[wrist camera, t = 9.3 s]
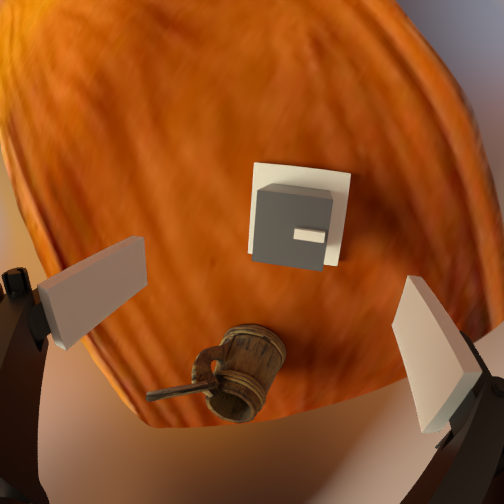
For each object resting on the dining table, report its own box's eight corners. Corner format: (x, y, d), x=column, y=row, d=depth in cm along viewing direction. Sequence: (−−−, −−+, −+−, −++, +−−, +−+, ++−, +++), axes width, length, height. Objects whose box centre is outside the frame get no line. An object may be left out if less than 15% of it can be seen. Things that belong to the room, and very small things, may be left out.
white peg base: (257, 162, 29) (241, 163, 23) (349, 173, 27) (357, 176, 21) (251, 249, 32) (235, 269, 26) (336, 261, 30) (339, 285, 25)
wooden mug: (242, 285, 34) (177, 387, 18) (297, 361, 36) (274, 472, 20) (192, 312, 38) (120, 401, 21) (247, 378, 39) (208, 475, 23)
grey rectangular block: (266, 238, 30) (250, 263, 23) (271, 183, 28) (255, 190, 21) (321, 246, 29) (322, 274, 22) (329, 190, 27) (333, 200, 20)
